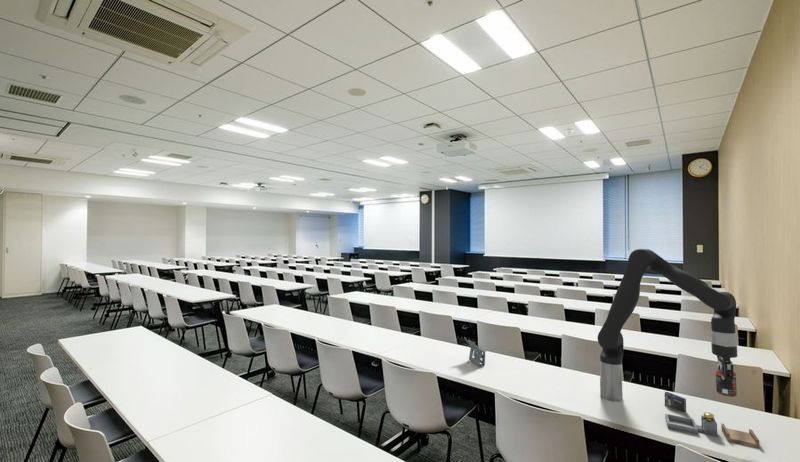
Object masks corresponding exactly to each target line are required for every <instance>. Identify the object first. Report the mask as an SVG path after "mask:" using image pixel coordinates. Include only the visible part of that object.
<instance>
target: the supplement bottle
mask: <svg viewBox="0 0 800 462" xmlns="http://www.w3.org/2000/svg"><path fill="white" fill-rule="evenodd" d="M727 376H730V374H727ZM733 378H734V380H732V390H727V389H725V388H724V378H723V373H722V372H721V369H720V365H719V368H718V367H717V368H716V369H715V388H716V393H718V394H719V395H721V396H725V397H731V398H734V397H737V395H738V394H737V374H736V372H735V371H734V370H733Z"/></svg>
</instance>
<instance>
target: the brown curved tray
mask: <svg viewBox="0 0 800 462" xmlns="http://www.w3.org/2000/svg"><path fill="white" fill-rule="evenodd" d="M720 426H721V429H720V430H721V432H722V434H723V435H724V436H723V437H724V438H725V439H726V441H727V442H730V441H731V443H735V444H741V445H744V446H748V447H753V448H758V449H760V447H761V446H760V439H759V438H758V436H757V435H756V434H755V432H754V430H753V429H751V428H749V429H748V432H747V431H743V430H742V431H741V430H737V429H732V428H727V426H726V425H725V423H721V425H720Z"/></svg>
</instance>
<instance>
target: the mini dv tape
mask: <svg viewBox="0 0 800 462" xmlns="http://www.w3.org/2000/svg"><path fill="white" fill-rule="evenodd" d="M664 406H666V407H669V408H671V409H673V408H674V409H673V410H675V411H679V412H681V413H683V414H685V413H687V399H686V398H685V397H682V396H679V395H677V394H674V393H672V392H669V391H664Z"/></svg>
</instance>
